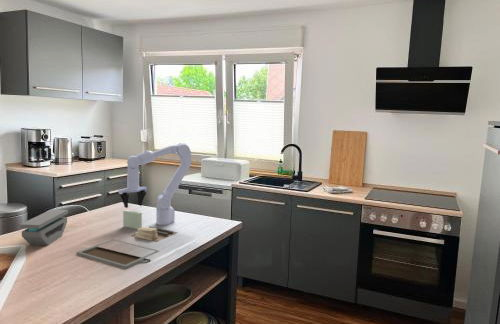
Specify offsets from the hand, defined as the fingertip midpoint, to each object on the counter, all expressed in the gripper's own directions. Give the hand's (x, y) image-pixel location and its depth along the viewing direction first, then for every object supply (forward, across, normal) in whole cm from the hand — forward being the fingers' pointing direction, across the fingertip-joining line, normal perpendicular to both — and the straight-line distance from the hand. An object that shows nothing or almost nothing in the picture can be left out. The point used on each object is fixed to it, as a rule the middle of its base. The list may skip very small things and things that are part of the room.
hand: (133, 206), depth 193 cm
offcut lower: (+9, -6, -22) cm, 25 cm away
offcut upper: (+7, -5, -22) cm, 24 cm away
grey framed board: (+11, -23, -32) cm, 41 cm away
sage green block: (+10, -3, -4) cm, 12 cm away
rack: (+10, -1, -20) cm, 23 cm away
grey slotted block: (+11, -39, +5) cm, 41 cm away
